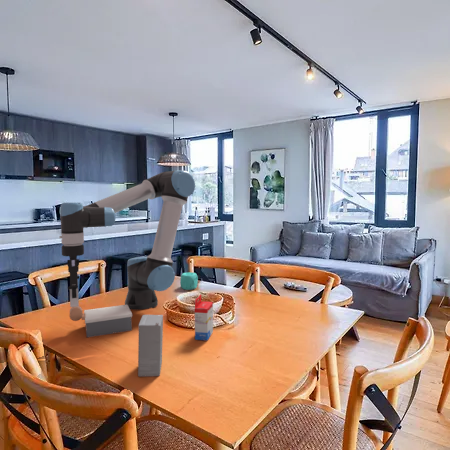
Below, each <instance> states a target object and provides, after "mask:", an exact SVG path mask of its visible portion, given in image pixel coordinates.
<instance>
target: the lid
mask: <svg viewBox="0 0 450 450" xmlns="http://www.w3.org/2000/svg"><path fill="white" fill-rule="evenodd" d="M83 310H84V311H83ZM126 317H131V318H133V313H132V311H131V309H129V307H128V305H125V304H121V305H113V306H107V307H98V308H92V309H91V308H90V309H83V308H82V307H81V306H80V305H79V306H76V307H70V309H69V318H70V320H72V321H74V322H79V321H80V320H81V321H83V320H84V324H86V323H92V322H99V321H106V320H112V319H119V318H126Z"/></svg>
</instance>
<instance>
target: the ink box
mask: <svg viewBox="0 0 450 450" xmlns="http://www.w3.org/2000/svg"><path fill="white" fill-rule="evenodd" d="M213 305H214V303H213V301H205V300H204V301H203V300H202V294H199V296H198V297H196V298H195V299H194V339H195V341H196V340H197V341H208V340H209V339H210V337H211V335H212V334H213V332H214V318H213V317H214V311H213V309H214V306H213Z"/></svg>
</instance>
